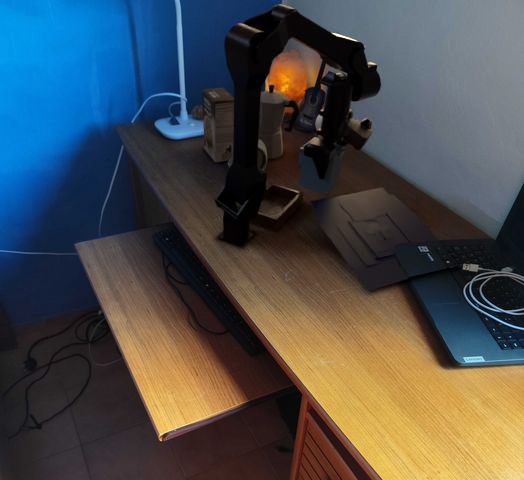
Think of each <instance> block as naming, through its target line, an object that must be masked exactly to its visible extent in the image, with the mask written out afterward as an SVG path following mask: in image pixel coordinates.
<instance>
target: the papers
mask: <svg viewBox="0 0 524 480" xmlns="http://www.w3.org/2000/svg"><path fill="white" fill-rule="evenodd" d="M309 203H310V204H311V205H312V207H313V208H314V209H312V210H311V212H312V213H313V215H314V216H315V218H316V222H317V223H318V224H319V226H320V227H321V229H322V230H323V231H324V233H325V235H327V237H328V238H329V239H330V241H331V242H332V244H333V246H335V248H336V249H337V250H338V252H339V254H341V256H342V257H343V259H344V260H345V261H346V263H347V264H348V266H349V267H350V270H351V271H352V272H353V273H354V275H355V276H356V277H357V279H358V280H359V281H360V282H361V283H362V285H363V286H364V288H366V290H367V291H368V292H369V291H374V290H376V289H379V288H383V287H385V286H389V285H392V284H395V283H400V282H401V281H405V280H408V277H407V275H406V274H405V272H404V271H403V269H402V267H399V265H398V262H397V260H396V258H395V254H394V251H393V250H394V247H395V245H396V244H399V243H408V242H410V243H411V242H426V241H440V240H439V238H438V237H437V236H436V235H435V234H434V233H433V232H432V230H431V229H430V228H428V226H427V225H426V224H425V223H424V222H423V221H422V220H421V219H420V217H418V216H417V214H416V213H415V212H414V211H413V210H412V209H410V208H409V207H408V206H407V204H406V203H405V202H403V201H401V200H400V199H399V198H398V197H397V196H396V195H395V194H394V193H393V194H389V193H388V192H387V190H386V189H385V188H384V187H377V188H373V189H372V188H371V189H368V190H362V191H358V192H353V193H348V194H342V195H336V196H331V197H326V198H325V197H324V198H319V199H314V200H309Z"/></svg>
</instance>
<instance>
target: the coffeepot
mask: <svg viewBox="0 0 524 480" xmlns="http://www.w3.org/2000/svg"><path fill="white" fill-rule="evenodd" d="M286 108H292V110H293V111H292V112H291V113H292V114H291V118H290V120H289V123H288V127H286V126H284V127H283V130H284V131H285V132H287V133H291V132H292V131H293V129H294V127H295V124H296V122H297V119H298V117H299V115H300V113H301V107H300V106H299V104H298V102H297V100H294V99H291V98H288V95H286V94H284V93H282V92H280V91H275V85H274V84H269V85H268V90H265V91H261V100H260V120H259V139H260V140H261V141H262V142H263V143H264V145H265V147H266V152H267V160H275V159H279V158H280V157H282V156H283V152H284V143H283V132H282V125H283V120H284V116H285V111H286Z"/></svg>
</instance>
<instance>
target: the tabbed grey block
mask: <svg viewBox="0 0 524 480" xmlns="http://www.w3.org/2000/svg"><path fill="white" fill-rule="evenodd" d="M313 138H316V137H315V136H314V137H313ZM317 138H318V139H319V137H317ZM311 140H312V139H310V140H309V141H311ZM307 143H308V142H306V143H305V144H304V145H303V146H301V147H299V154H298V161H297V162H298V164H297V166H298V167H299V168H301V169H300V176H299V186H300V187H302V188H305V189H307V190H312V191H314V192H317V193H319V194H320V193H321V194H323V195H326V196H329V195H330V194H331V193H333V192H334V191H335V189H336V188H337V187H338V186H339V182H340V176H341V169H342V166H343V165H342V164H343V159H344V154H345V153H346V149H345V147H346V146H342V145H339V144H335V147H336V150H335V154H337V155H336V156H335V157H334V158H333V159H332V160H330V162H329V165H328V168H327V172H326V175H325V177H324V179H320V178H319V176H318V173H317V170H316V167H315V164H314V161H313V159H312V158H310V157H307V156H304V155H303V152H304V146H305V145H306V144H307Z"/></svg>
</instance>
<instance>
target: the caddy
mask: <svg viewBox="0 0 524 480" xmlns="http://www.w3.org/2000/svg"><path fill="white" fill-rule="evenodd" d="M266 190H267V192H265V191H264V198H263V201H262V202H261V205H260V209H259V212H258V215H257V217H256V218H253V219H251V220H250V223H251V224H253V225H256V226H259V227H263V228H265V229H268V230H271V231H274V232H276V231H277V230H279V228H280V227H281V226H282V225H284V223H285V222H287V220H288V219H289V218H290V217H291V216H292V215H293V214H294V213H295V212H296V211H297V210H298V209H299V208H300V207H301V205H302V204H303V199H304V192H302V191H299V190H295V189H292V188H289V187H286V186H283V185H279V184H276V183H273V182H270V183H269V184H266Z"/></svg>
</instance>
